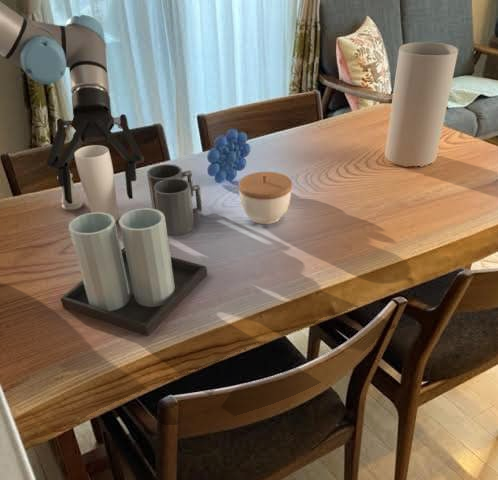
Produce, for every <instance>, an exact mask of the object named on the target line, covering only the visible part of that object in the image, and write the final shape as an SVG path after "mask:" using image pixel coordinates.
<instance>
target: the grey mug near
mask: <svg viewBox="0 0 498 480" xmlns="http://www.w3.org/2000/svg"><path fill="white" fill-rule="evenodd" d="M153 188H154V195H155V201H156V208H157V210H159V211H161V212H162V213H163V214H164V216H165V222H166V229H167V236H182V235H186V234H188V233H190V232H191V231H193V230H194V228H195V219H194V215H195V214H197V213H201V212H202V211H203V205H202V195H201V186H200V184H195V185H194V184H193V186H191V187H190V183H189V182H188V180H186V179H184V178H183V179H179V178H171V179H165V180H161V181H159V182H157V183H156V184H155V185H154V187H153ZM192 191H193V192H195V193H194V194H195V201H196V207H194V208H193V201H192V200H193V199H192V198H193V197H191V192H192Z"/></svg>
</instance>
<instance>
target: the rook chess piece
mask: <svg viewBox="0 0 498 480" xmlns="http://www.w3.org/2000/svg"><path fill="white" fill-rule="evenodd" d="M69 172H70V180H71V193H72V203H71V204H68V202H67V201H66V200H65V194H64V187H61V190H62V191H61V192H62V196H61V200H60V203H61V207H62V209H63V210H66V211H68V212H71V211H76V210H78V209H80V208H81V207H82V206H83V201H82V198H81V196H80V195H79V194H78V193H77V191H76V188H75V187H74V180H72V179H73V177H74V175H73V174H72V173H71V170H69ZM56 179H58V176H57V177H56Z"/></svg>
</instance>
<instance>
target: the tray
mask: <svg viewBox="0 0 498 480" xmlns="http://www.w3.org/2000/svg"><path fill="white" fill-rule="evenodd" d="M121 252H122V257H123V262H124V266H125V271H126V276H127V281H128V286H129V291H130V295H131V297H130V300H129V302H128V303H127V304H126V305H124V306H123V307H121V308H119V309H116V310H113V311H107V310H104V309H101V308H98V307H95V306H92V305H89V301H88V297H87V294H86V290H85V286H84V283H83V280H81V281H80V282H78V283H77V284H76V285H75V286H74V287H72V288H71V289H70V290H69V291H67V292H66V293H64V294H63V295H62V296H61V297H60V299H59V300H60V302H61V306H62V308H63V309H66V310H69V311H73V312H75V313H79V314H82V315H84V316H87V317H90V318H93V319H97V320H99V321H102V322H105V323H107V324H111V325H114V326H117V327H120V328H123V329H125V330H129V331H132V332H133V333H134V332H135V333H138V334H140V335H144V336H146V337H149V336H150V335H151V334H152V333H153V332H154V331H155V330H156V329H157V328H158V327H159V326H160V324H161V323H163V322H164V320H165V319H166V318H168V317H169V315H171V313H172V312H173V311H174V310H175V309H176V308H177V307H178V306H179V305H180V304H181V303H182V302H183V301H184V300H185V299H186V298H187V297H188V296H189V295H190V294H191V293H192V292H193V290H195V289H196V288H197V287H198V285H200V283H202V282H203V280H205V278H207V276H208V271H207V270H208V269H207V266H206V265H203V264H199V263H195V262H192V261H188V260H184V259H180V258H178V257H173V256H170V257H171V264H172V271H173V279H174V286H175V294H174V295H173V296H172V297H171V298H170V299H169V300H168V301H167V302H166V303H165V304H164V305H161V306H157V307H146V306H142V305H140V304H138V303H137V302H136V301H135V298H134V293H133V288H132V283H131V278H130V273H129V269H128V264H127V259H126V254H125V249H124V247H123V248H121Z"/></svg>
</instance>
